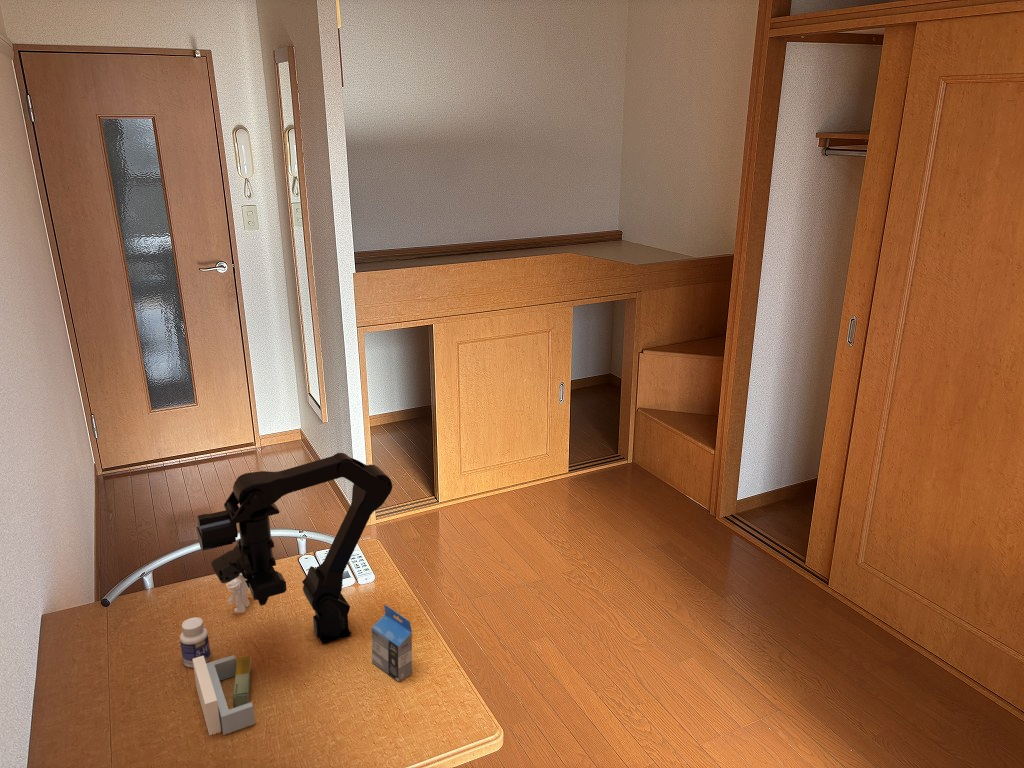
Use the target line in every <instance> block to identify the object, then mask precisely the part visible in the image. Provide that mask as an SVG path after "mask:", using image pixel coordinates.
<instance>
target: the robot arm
mask: <svg viewBox="0 0 1024 768" xmlns="http://www.w3.org/2000/svg"><path fill="white" fill-rule="evenodd" d="M341 478H344V479H346V480H347V481H349V482H351V483H352V484H353V486H352V492H351V493H352V494H351V502H350V505H349V507H348V510H347V512H346V514H345V516H344V518H343V520H342V522H341V524H340V526H339V528H338V530H337V532H336V535H335V537H334V539H333V541H332V543H331V545H330V548H329V550H328V551H327V554H326V556H325V558H324V560H323V562H322V563H321V564H319V565H318V566H317V567H314V566H313V565H311V566H310V567H309V568H308V571H307V574H306V576H305V578H304V579H303V580H302V581H301V583H302V584H303V586H302V591H303V594H304V596H305V597H306V600H307V601H308V603H309V605H310V606H311V608H312V609H313V610H314V615H313V616H312V621H313V633H314V634H315V637H316V638H317V639H318V640H319V641H320V643H321V644H322V645H327V644H331V643H333V642H337V641H339V640H343V639H346V638H349V637H352V631H351V630H350V628H349V613H350V609H351V605H350V604H349V602H348V601H347V600H346V598H345V597H344V595H343V594H342V591H343V577H344V572H345V570H346V568H347V566H348V563H349V562H350V560H351V557H352V556H353V553H354V551H355V550H356V547H357V546H358V545H357V544H359V541H360V539H361V536H362V534H363V532H364V530H365V528H366V526H367V524H368V522H369V519H370V518H371V516H372V514H373V513H374V512H375V511H376V510H378V509H379V508H380V507H382V506H383V505H384V503H385V502H386V500H387V499H388V498H389V496H390V494H391V493H392V490H393V487H394V485H393V484H392V483H393V482H392V480H391V478H390V477H389V476H388V475H387V474H386V473H385V472H384V471H383V470H382V469H381V468H380V467H379V466H377V465H376V464H367V465H366V463H364V462H361V461H360V460H358V459H356V458H353V457H351V456H349V455H347V453H344V452H337V453H335V454H334V455H331V456H328V457H324V458H321V459H318V460H313V461H312V462H311V461H310V462H307V463H304V464H299V465H298V466H294V467H290V468H286V469H283V470H280V471H279V470H277V471H267V470H266V471H265V470H264V471H263V470H260V471H253V472H246V473H243V474H241V475H239V476H238V477H237V478H236V480H235V481H234V483H233V486H232V491H231V493H230V494H229V496H228V497H227V499H226V501H225V502H224V504H223V507H224V509H225V510H222V511H215V512H212V513H204V514H199V515H198V514H197V522H196V523H197V524H196V525H197V526H196V533H197V539H198V543H199V547H200V550H201V552H204V551H208V550H212V549H216V548H220V547H221V548H222V547H224V546H229V545H232V544H233V543H236V542H237V544H236V545H235V546H234V548H233V549H231V550H229V551H227V552H225V553H223V554H221V555H220V556H218V557H217V558H215V559H213V560H212V561H211V563H210V565H211V567H212V570H213V573H214V574H215V575H216V577H217V579H219V582H220V583H221V584H227V583H229V582H230V581H232V580H233V579H235V578H237V577H238V576H239V575H240V573H242V575H243V577H244V578H245V579H247V580H245V582H246V584H247V586H248V587H249V591H250V593H251V597H252V598H253V600H254V601H258V603H259V606H261V607H262V606H265V605H267V602H268V600H269V598H271V597H273V596H276V595H280V594H281V595H282V594H284V593H286V592H287V590H288V589H287V581H286V580H285V578H284V576H283V575H282V573H281V572H279V571H277V570H275V568H274V567H275V566H277V561H276V559H275V557H274V555H273V548H275V542H274V541H273V539H272V534H271V524H270V521H271V520H270V516H274V515H279V514H280V513H281V512H280V510H279V508H278V506H277V505H276V504H275V503H277V502H278V501H279V500H280V499H281V498H282V497H284V496H286V495H289V494H290V493H295V492H297V491H302V490H305V489H308V488H311V487H314V486H317V485H321V484H324V483H327V482H330V481H334V480H338V479H341ZM237 524H238V525H237ZM238 528H239V529H238ZM238 530H239V533H238ZM238 536H239V538H238ZM237 538H238V541H237Z"/></svg>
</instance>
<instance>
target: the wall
mask: <svg viewBox="0 0 1024 768" xmlns="http://www.w3.org/2000/svg"><path fill="white" fill-rule="evenodd" d="M193 666H194V668H193V673H194V679H195V686H196V687H195V688H196V691H197V695H198V699H199V703H200V706H201V709H202V714H203V717H204V721H205V724H206V728H207V732H208V734H209V737H211V736H213V735H216V733H217V734H219V733H222V728H221V725H220V719H219V711H218V703H217V698H216V695H215V692H214V688H213V685H212V682H211V679H210V675H209V672H208V669H207V665H206V662H205V659H204V656H200V657H197V658H193ZM212 734H213V735H212ZM210 735H211V736H210Z"/></svg>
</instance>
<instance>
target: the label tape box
mask: <svg viewBox="0 0 1024 768" xmlns="http://www.w3.org/2000/svg"><path fill="white" fill-rule="evenodd" d="M383 606H384V614H383V616H382V617H381V618H379V620H377V622H376V623H375V624H374V625H373V626H372V627H371V663H372V664H374V665H375V666H377V667H378V668H379V669H381V670H382V671H383V672H385V673H386V674H388V675H389V676H390V677H392V678H393V679H394V680H396V681H397V682H401V681H403V680H404V679H406V678H407V677H409V676H410V675H412V674H413V642H412V641H413V640H412V639H413V634H412V633H413V630H412V625H411V624H412V623H411V621H410V620H409V619H407V618H406V617H404V616H403V615H401V614H400V613H399V612H397V611H395V610H394V609H393V608H391V607H390V606H388V605H386V604H383ZM396 617H397V618H398V619H397V618H396Z"/></svg>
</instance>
